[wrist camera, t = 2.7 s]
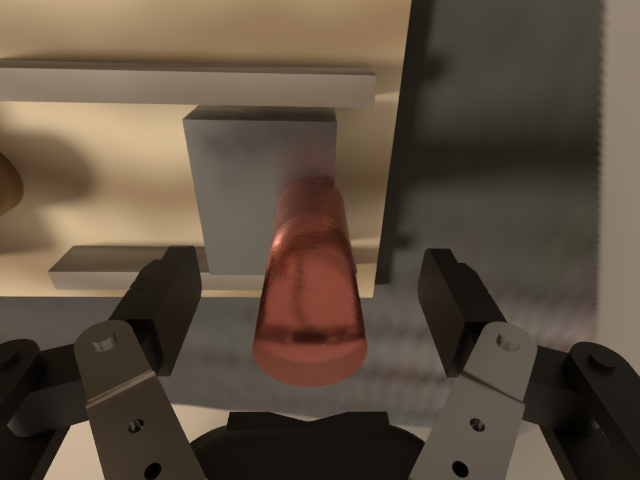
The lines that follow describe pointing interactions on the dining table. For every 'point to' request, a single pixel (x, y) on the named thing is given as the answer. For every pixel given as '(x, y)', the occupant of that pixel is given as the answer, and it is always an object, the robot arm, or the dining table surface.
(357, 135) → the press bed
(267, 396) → the dining table surface
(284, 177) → the plate with copper rod
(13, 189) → the nut
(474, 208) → the dining table surface
